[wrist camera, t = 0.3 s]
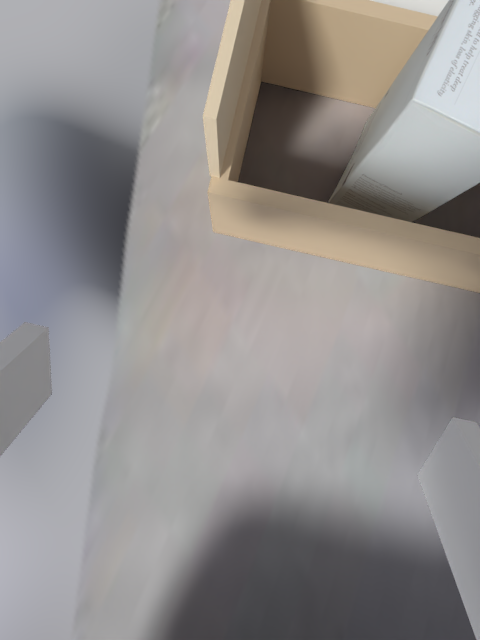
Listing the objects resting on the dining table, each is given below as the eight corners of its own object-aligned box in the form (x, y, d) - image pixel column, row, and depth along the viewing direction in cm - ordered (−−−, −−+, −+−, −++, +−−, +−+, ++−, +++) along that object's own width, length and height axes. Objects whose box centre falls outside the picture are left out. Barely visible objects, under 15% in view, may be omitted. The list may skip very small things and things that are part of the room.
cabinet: (509, 299, 31) (735, 262, 17) (212, 231, 31) (197, 137, 17) (538, 134, 32) (775, -29, 18) (250, 67, 32) (267, -151, 18)
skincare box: (365, 121, 32) (483, -75, 17) (432, 152, 32) (610, -15, 17) (322, 212, 31) (407, 91, 16) (391, 244, 31) (537, 153, 16)
